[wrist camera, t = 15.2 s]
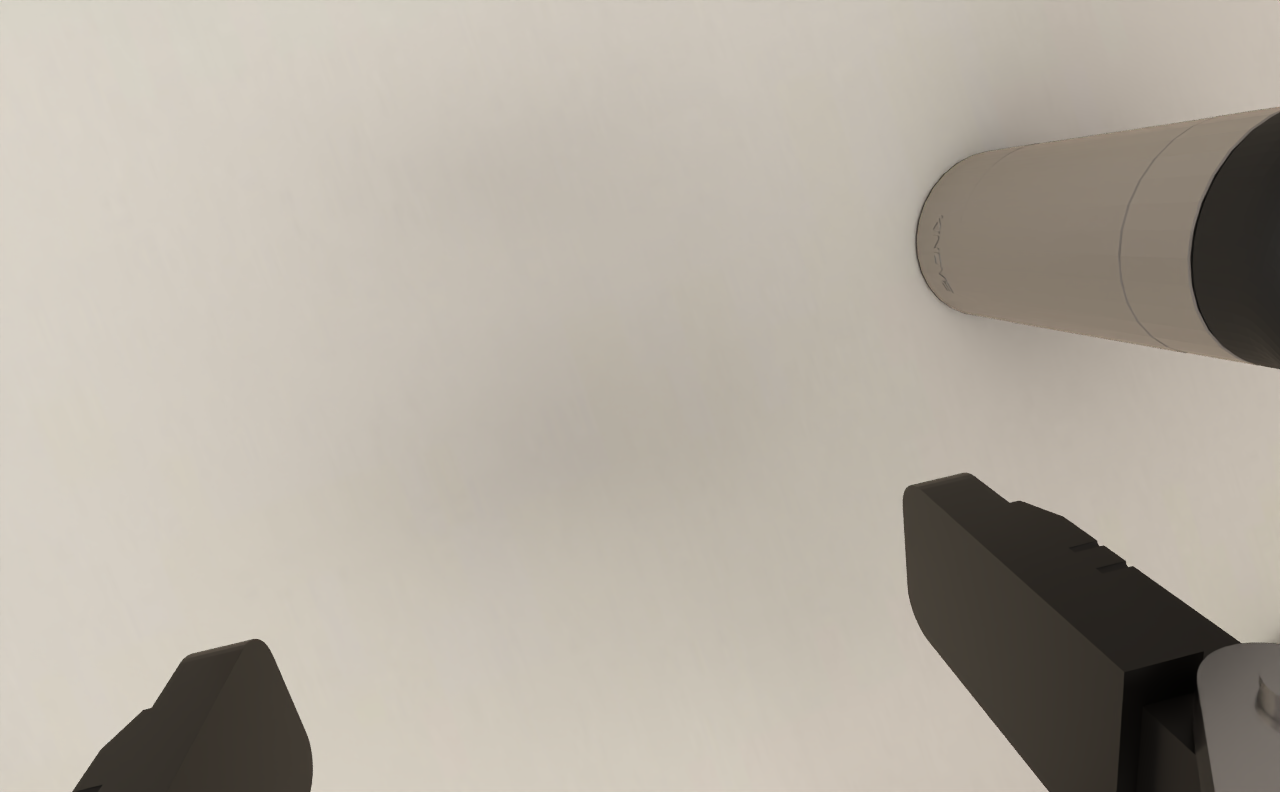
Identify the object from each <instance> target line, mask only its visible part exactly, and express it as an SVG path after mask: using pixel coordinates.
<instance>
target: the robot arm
mask: <svg viewBox="0 0 1280 792" xmlns="http://www.w3.org/2000/svg"><path fill="white" fill-rule="evenodd" d="M917 252H918V259H919V263H920V267H921V271H922V273H923V275H924V277H925V279H926V281H927V283H928V285H929V287H930V288H931V290H932V291H933V292H934V293H935V294H936V296H937V297H938V298H939V299H940V300H941V301H943V302H944V303H945V304H947V305H948V306H949V307H951V308H953V309H955V310H958V311H960V312H962V313H966V314H971V315H977V316H982V317H988V318H993V319H999V320H1004V321H1009V322H1014V323H1019V324H1024V325H1030V326H1036V327H1041V328H1047V329H1053V330H1058V331H1064V332H1070V333H1075V334H1081V335H1087V336H1092V337H1098V338H1104V339H1109V340H1115V341H1121V342H1126V343H1132V344H1138V345H1143V346H1149V347H1155V348H1160V349H1166V350H1172V351H1177V352H1183V353H1191V354H1196V355H1202V356H1208V357H1214V358H1219V359H1225V360H1231V361H1236V362H1242V363H1248V364H1253V365H1261V366H1265V367H1271V368H1277V369H1280V107H1274V108H1268V109H1261V110H1255V111H1248V112H1242V113H1235V114H1229V115H1222V116H1216V117H1212V118H1205V119H1199V120H1192V121H1186V122H1179V123H1172V124H1166V125H1159V126H1152V127H1146V128H1139V129H1133V130H1126V131H1119V132H1113V133H1106V134H1099V135H1093V136H1086V137H1080V138H1073V139H1066V140H1060V141H1053V142H1046V143H1038V144H1031V145H1025V146H1018V147H1012V148H1005V149H999V150H992V151H987V152H983V153H979V154H975V155H972V156H970V157H968V158H967V159H965V160H963V161H961V162H959V163H957V164H956V165H955V166H954V167H953V168H951V169H950V170H949V171H948V172H946V173H945V174H944V175H943V177H942V178H941V179H940V180H939V182H938V183H937V184H936V185H935V186H934V188H933V189H932V191H931V193H930V195H929V197H928V199H927V200H926V202H925V204H924V208H923V211H922V214H921V217H920V220H919V226H918V233H917ZM903 517H904V534H905V551H906V567H907V584H908V594H909V599H910V603H911V606H912V610H913V613H914V615H915V618H916V620H917V622H918V625H919V627H920V628H921V630H922V632H923V634H924V635H925V637H926V638H927V640H928V641H929V642H930V643H931V645H932V646H933V647H934V648H935V650H936V651H937V652H938V653H939V655H940V656H941V657H942V658H943V660H944V661H945V662H946V663H947V665H948V666H949V667H950V668H951V670H952V671H953V672H954V673H955V675H956V676H957V677H958V678H959V680H960V681H961V682H962V683H963V685H964V686H965V687H966V688H967V690H968V691H969V692H970V693H971V695H972V696H973V697H974V698H975V700H976V701H977V702H978V703H979V705H980V706H981V707H982V708H983V710H984V711H985V712H986V713H987V715H988V716H989V717H990V718H991V720H992V721H993V722H994V723H995V725H996V726H997V727H998V728H999V730H1000V731H1001V732H1002V733H1003V735H1004V736H1005V737H1006V738H1007V740H1008V741H1009V742H1010V743H1011V745H1012V746H1013V747H1014V748H1015V750H1016V751H1017V752H1018V753H1019V755H1020V756H1021V757H1022V758H1023V760H1024V761H1025V762H1026V763H1027V765H1028V766H1029V767H1030V768H1031V770H1032V771H1033V772H1034V773H1035V775H1036V776H1037V777H1038V778H1039V780H1040V781H1041V782H1042V783H1043V785H1044V786H1045V787H1046V788H1047V790H1048V791H1049V792H1280V644H1275V643H1240V642H1239V641H1238V640H1236V639H1235V638H1233V637H1232V636H1230V635H1229V634H1228V633H1226V632H1225V631H1223V630H1222V629H1221V628H1219V627H1218V626H1216V625H1215V624H1214V623H1212V622H1211V621H1209V620H1208V619H1207V618H1205V617H1204V616H1202V615H1201V614H1200V613H1198V612H1197V611H1195V610H1194V609H1193V608H1191V607H1190V606H1188V605H1187V604H1185V603H1184V602H1183V601H1181V600H1180V599H1178V598H1177V597H1176V596H1174V595H1173V594H1171V593H1170V592H1169V591H1167V590H1166V589H1164V588H1163V587H1162V586H1160V585H1159V584H1157V583H1156V582H1155V581H1153V580H1152V579H1150V578H1149V577H1148V576H1146V575H1145V574H1143V573H1142V572H1140V571H1139V570H1138V569H1136V568H1135V567H1133V566H1132V567H1128V566H1127V565H1126V561H1125V560H1124V559H1122V558H1121V557H1119V556H1118V555H1117V554H1115V553H1114V552H1112V551H1111V550H1110V549H1108V548H1107V547H1105V546H1099V545H1098V543H1097V540H1095V539H1094V538H1093V537H1091V536H1090V535H1088V534H1087V533H1086V532H1084V531H1083V530H1081V529H1080V528H1079V527H1077V526H1076V525H1074V524H1073V523H1072V522H1070V521H1069V520H1067V519H1066V518H1065V517H1063V516H1060V515H1057V514H1055V513H1052V512H1049V511H1047V510H1044V509H1041V508H1038V507H1036V506H1033V505H1030V504H1028V503H1025V502H1022V501H1016V502H1012V503H1009V502H1008V501H1006V500H1005V499H1004V498H1002V497H1001V496H1000V495H998V494H997V493H996V492H995V491H993V490H992V489H991V488H989V487H988V486H987V485H985V484H984V483H983V482H981V481H980V480H979V479H977V478H976V477H975V476H973V475H972V474H969V473H961V474H957V475H952V476H948V477H944V478H940V479H936V480H931V481H927V482H923V483H919V484H914V485H910V486H908V487H907V488H906V490H905V492H904V495H903ZM312 776H313V762H312V752H311V747H310V743H309V739H308V736H307V734H306V731H305V729H304V727H303V724H302V722H301V720H300V717H299V715H298V713H297V710H296V708H295V706H294V703H293V701H292V699H291V696H290V694H289V692H288V689H287V687H286V685H285V682H284V680H283V678H282V675H281V673H280V671H279V669H278V666H277V664H276V662H275V659H274V657H273V655H272V653H271V651H270V649H269V648H268V646H267V645H266V644H265V643H264V642H263V641H261V640H259V639H252V640H248V641H244V642H239V643H235V644H231V645H227V646H222V647H218V648H214V649H210V650H205V651H201V652H197V653H193V654H190V655H188V656H186V657H185V658H184V659H183V660H182V662H181V663H180V664H179V666H178V667H177V669H176V671H175V672H174V674H173V675H172V677H171V678H170V680H169V682H168V683H167V685H166V686H165V688H164V689H163V691H162V693H161V694H160V696H159V697H158V699H157V700H156V702H155V703H154V705H153V707H152V708H150V709H146V710H143V711H142V712H141V713H140V714H139V715H138V716H136V717H135V718H134V719H133V720H132V721H131V722H130V723H129V724H128V725H127V726H126V727H125V728H124V729H123V730H121V731H120V732H119V733H118V734H117V735H116V736H115V737H114V738H113V739H112V740H111V741H110V742H109V743H107V744H106V745H105V746H104V747H103V748H102V749H101V750H100V752H99V753H98V755H97V756H96V757H95V759H94V760H93V762H92V763H91V765H90V766H89V768H88V769H87V771H86V772H85V774H84V775H83V777H82V778H81V780H80V781H79V783H78V784H77V786H76V787H75V789H74V790H73V791H72V792H310V790H311V785H312Z"/></svg>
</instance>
